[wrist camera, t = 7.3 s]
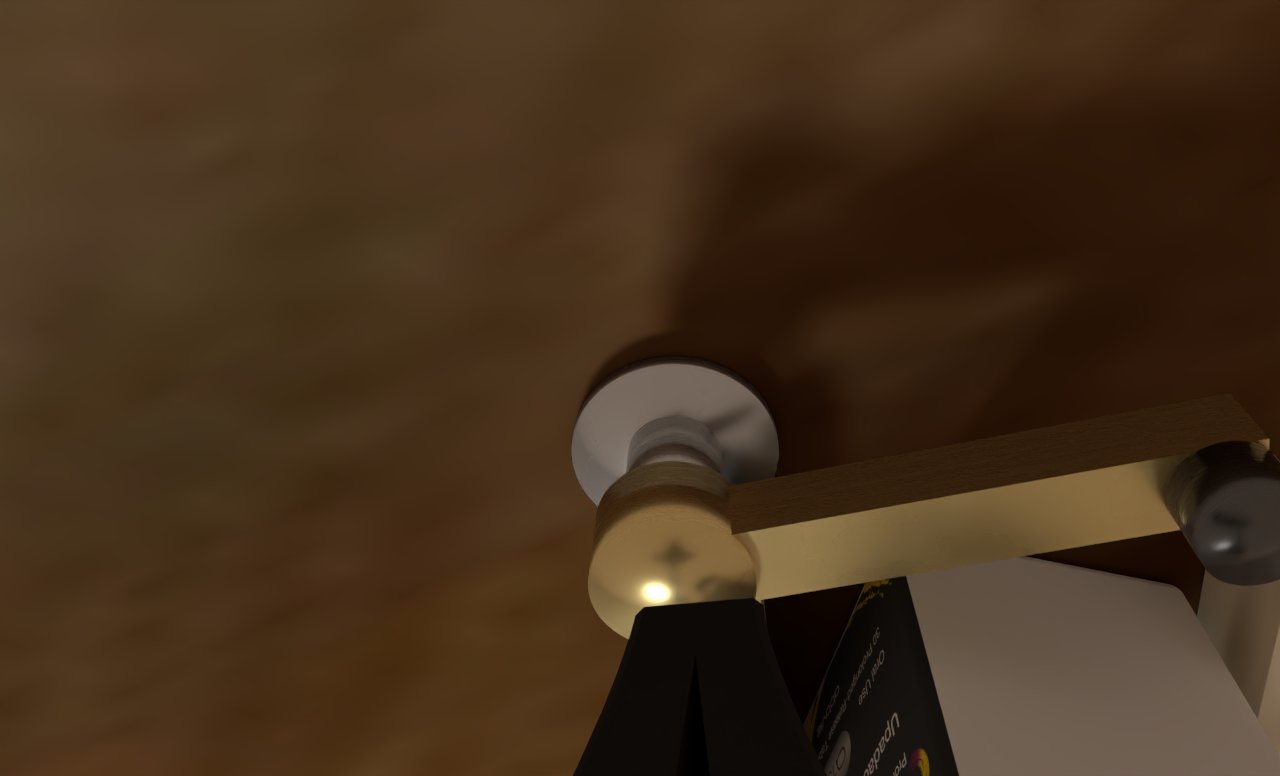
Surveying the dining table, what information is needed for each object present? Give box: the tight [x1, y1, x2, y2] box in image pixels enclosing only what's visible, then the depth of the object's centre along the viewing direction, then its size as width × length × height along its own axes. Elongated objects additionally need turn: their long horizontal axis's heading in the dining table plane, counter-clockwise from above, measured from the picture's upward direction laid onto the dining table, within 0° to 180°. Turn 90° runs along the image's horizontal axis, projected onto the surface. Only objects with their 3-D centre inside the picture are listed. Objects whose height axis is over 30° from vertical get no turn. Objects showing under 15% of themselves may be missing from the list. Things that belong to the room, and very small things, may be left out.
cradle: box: [758, 455, 1280, 756], centre depth 24 cm, size 11×12×3 cm
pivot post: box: [572, 356, 779, 506], centre depth 21 cm, size 4×4×2 cm
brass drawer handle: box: [588, 392, 1280, 639], centre depth 18 cm, size 12×3×3 cm, turn 105°
